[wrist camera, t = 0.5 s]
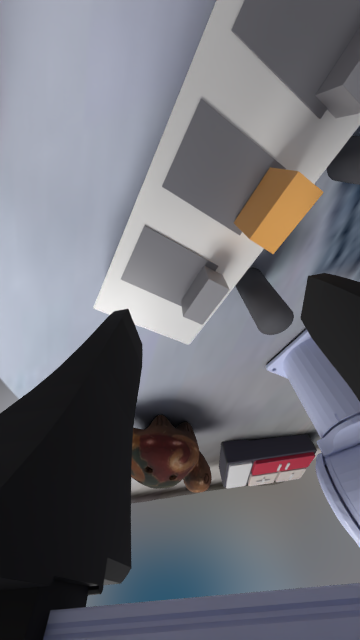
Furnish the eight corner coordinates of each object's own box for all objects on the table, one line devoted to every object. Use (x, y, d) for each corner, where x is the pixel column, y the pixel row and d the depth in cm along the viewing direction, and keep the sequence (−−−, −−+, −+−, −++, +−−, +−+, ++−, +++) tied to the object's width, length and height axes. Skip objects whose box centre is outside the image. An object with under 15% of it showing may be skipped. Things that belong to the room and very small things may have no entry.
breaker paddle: (290, 184, 12) (323, 192, 9) (253, 235, 13) (273, 254, 11) (269, 167, 11) (298, 171, 9) (233, 222, 13) (249, 239, 10)
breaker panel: (414, -11, 11) (613, -142, 6) (185, 316, 22) (191, 363, 17) (299, -199, 8) (492, -700, 3) (105, 282, 19) (85, 325, 14)
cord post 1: (267, 275, 20) (301, 314, 15) (250, 296, 21) (275, 339, 16) (246, 263, 19) (274, 300, 14) (229, 285, 20) (250, 327, 15)
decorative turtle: (195, 446, 39) (196, 505, 32) (108, 426, 35) (91, 488, 29) (224, 420, 33) (232, 485, 27) (124, 394, 30) (107, 461, 23)
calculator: (302, 480, 42) (224, 492, 41) (291, 455, 45) (218, 466, 45) (320, 455, 35) (228, 469, 35) (305, 428, 39) (220, 440, 38)
